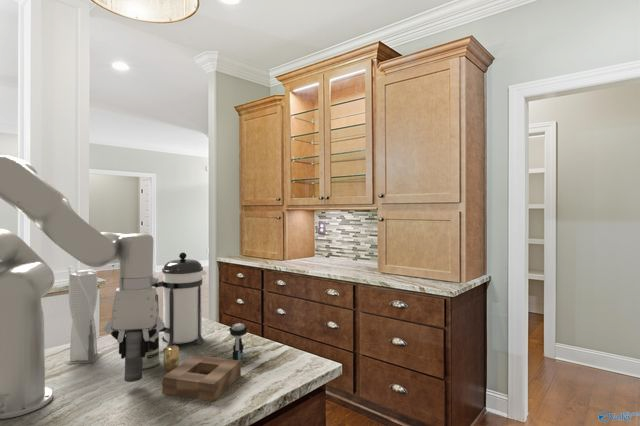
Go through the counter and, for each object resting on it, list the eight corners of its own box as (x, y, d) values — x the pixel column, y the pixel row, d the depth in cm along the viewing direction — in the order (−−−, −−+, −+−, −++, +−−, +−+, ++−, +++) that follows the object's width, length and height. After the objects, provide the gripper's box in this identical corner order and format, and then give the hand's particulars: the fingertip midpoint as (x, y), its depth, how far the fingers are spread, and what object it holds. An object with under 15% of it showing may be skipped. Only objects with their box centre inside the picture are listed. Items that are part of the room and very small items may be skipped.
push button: (232, 352, 118) (232, 320, 118) (249, 352, 118) (249, 320, 118) (227, 361, 112) (227, 327, 111) (245, 361, 112) (245, 327, 112)
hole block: (213, 401, 89) (213, 384, 89) (162, 393, 93) (162, 377, 93) (240, 375, 103) (240, 360, 103) (194, 369, 106) (194, 355, 106)
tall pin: (134, 383, 93) (135, 334, 93) (120, 380, 94) (122, 332, 94) (145, 376, 97) (147, 329, 97) (132, 373, 98) (133, 327, 98)
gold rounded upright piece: (173, 373, 104) (173, 351, 103) (160, 372, 104) (160, 350, 104) (182, 367, 107) (181, 346, 107) (169, 366, 108) (169, 345, 108)
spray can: (149, 370, 105) (149, 298, 105) (127, 368, 107) (127, 297, 106) (163, 361, 112) (163, 293, 111) (143, 358, 113) (143, 292, 113)
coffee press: (176, 332, 137) (176, 248, 136) (215, 337, 132) (215, 250, 131) (139, 349, 120) (139, 255, 119) (182, 356, 115) (182, 257, 114)
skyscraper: (61, 365, 109) (60, 268, 108) (74, 354, 117) (73, 263, 116) (93, 363, 110) (92, 267, 109) (104, 352, 118) (103, 263, 117)
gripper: (173, 279, 101) (171, 348, 101) (102, 280, 96) (100, 352, 97) (170, 285, 94) (168, 359, 94) (93, 287, 89) (91, 364, 89)
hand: (134, 355), depth 95 cm, fingers closed on tall pin, 4 cm apart
